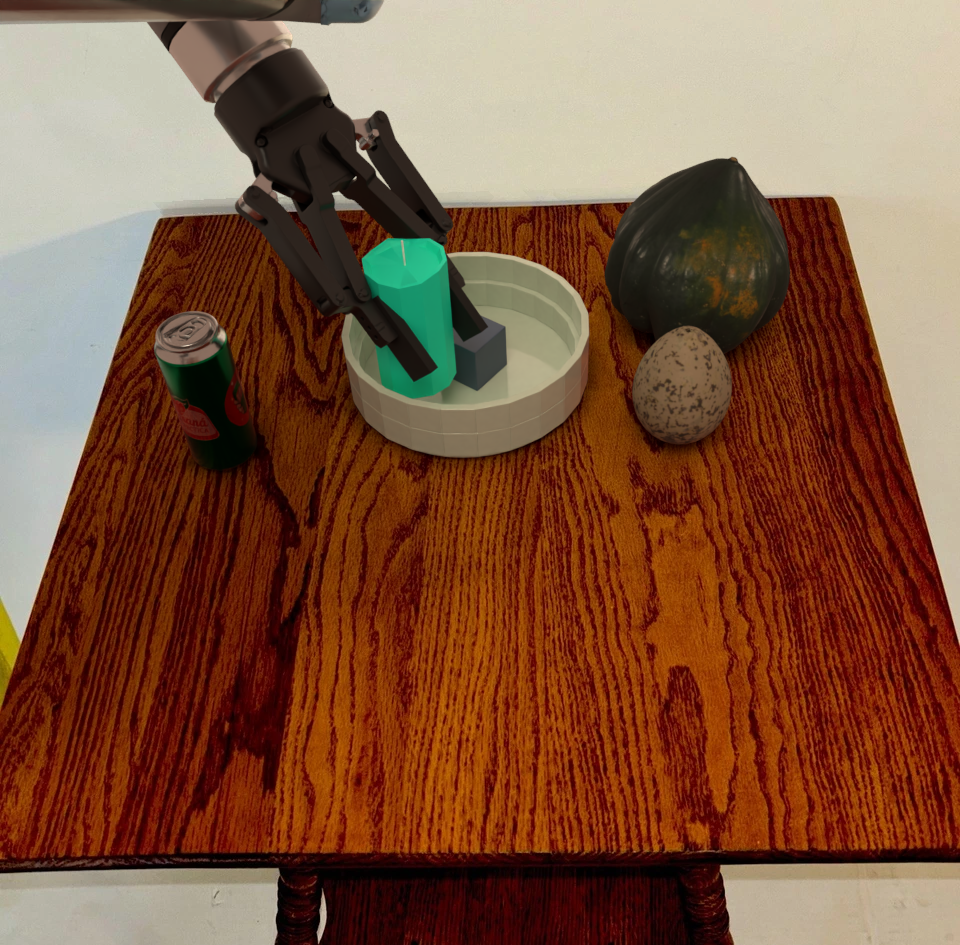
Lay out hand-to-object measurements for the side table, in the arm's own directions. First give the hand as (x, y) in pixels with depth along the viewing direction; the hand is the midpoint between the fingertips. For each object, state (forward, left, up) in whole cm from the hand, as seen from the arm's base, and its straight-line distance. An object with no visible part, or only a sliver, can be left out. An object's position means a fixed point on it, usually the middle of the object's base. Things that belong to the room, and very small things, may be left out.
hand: (450, 353), depth 75 cm
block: (+5, +4, -7) cm, 9 cm away
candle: (-1, +4, -4) cm, 5 cm away
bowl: (+4, +4, -7) cm, 9 cm away
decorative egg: (+11, -12, -8) cm, 19 cm away
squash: (+22, -4, -8) cm, 24 cm away
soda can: (-15, +11, -8) cm, 20 cm away
